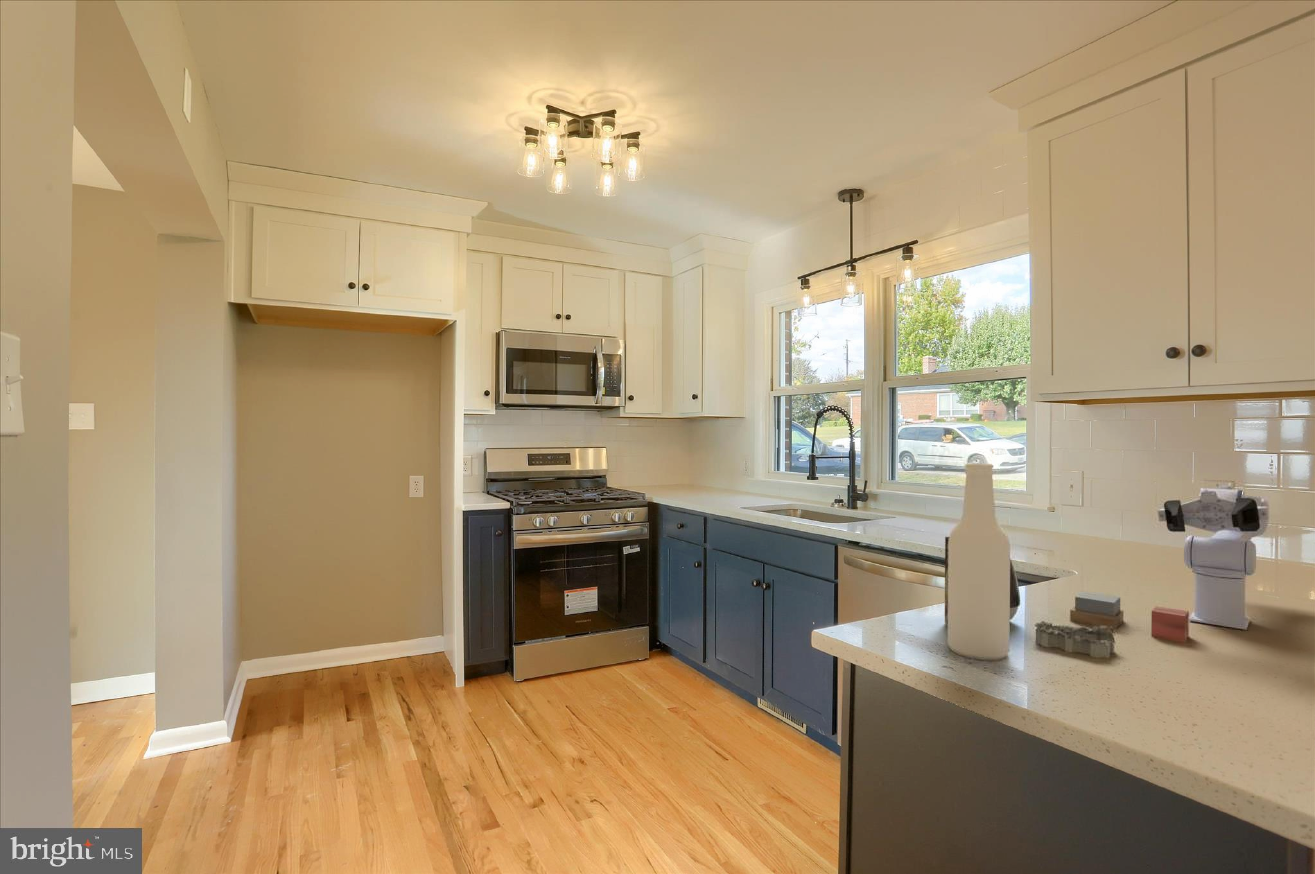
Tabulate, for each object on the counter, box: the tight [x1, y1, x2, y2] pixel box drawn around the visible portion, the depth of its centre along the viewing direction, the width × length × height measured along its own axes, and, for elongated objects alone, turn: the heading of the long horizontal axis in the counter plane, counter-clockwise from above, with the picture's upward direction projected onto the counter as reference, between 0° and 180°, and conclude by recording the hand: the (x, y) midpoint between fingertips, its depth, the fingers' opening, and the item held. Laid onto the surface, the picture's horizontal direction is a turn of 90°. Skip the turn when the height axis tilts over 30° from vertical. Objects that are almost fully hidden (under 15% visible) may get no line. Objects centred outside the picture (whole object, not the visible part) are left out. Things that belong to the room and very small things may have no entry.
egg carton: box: [1034, 620, 1117, 659], centre depth 105 cm, size 11×8×4 cm
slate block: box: [1074, 591, 1121, 617], centre depth 120 cm, size 6×6×2 cm
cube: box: [1150, 605, 1190, 643], centre depth 111 cm, size 4×4×4 cm
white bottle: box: [947, 462, 1011, 661], centre depth 102 cm, size 9×9×30 cm
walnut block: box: [1069, 606, 1125, 629], centre depth 120 cm, size 7×7×2 cm
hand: (1204, 520), depth 107 cm, fingers open, 7 cm apart
